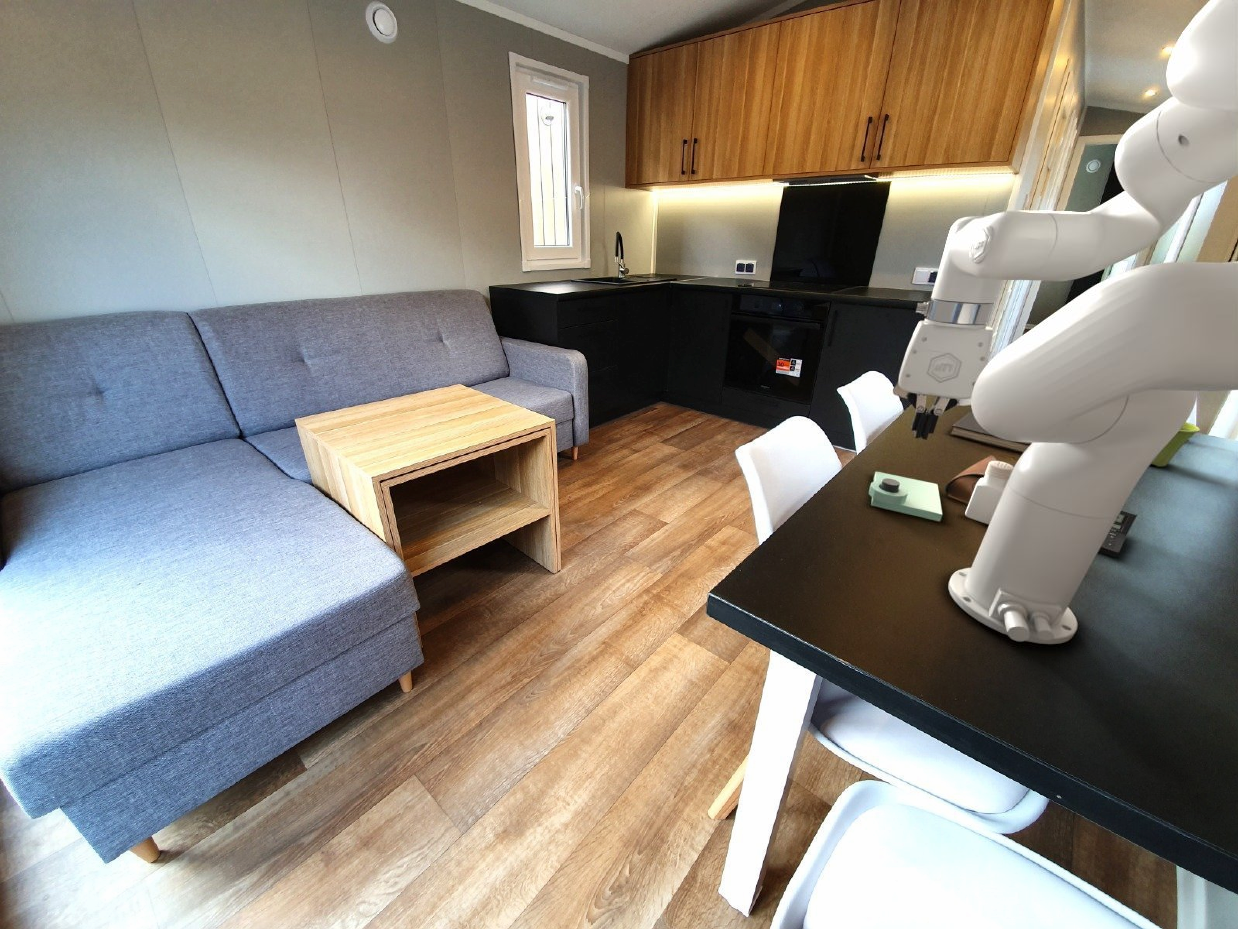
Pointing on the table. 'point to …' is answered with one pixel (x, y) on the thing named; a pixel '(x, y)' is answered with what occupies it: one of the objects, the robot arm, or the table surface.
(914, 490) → the scale
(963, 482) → the sunglasses case
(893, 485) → the tare button
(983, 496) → the pepper shaker
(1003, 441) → the hardcover book
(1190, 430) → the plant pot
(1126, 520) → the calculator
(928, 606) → the table surface
